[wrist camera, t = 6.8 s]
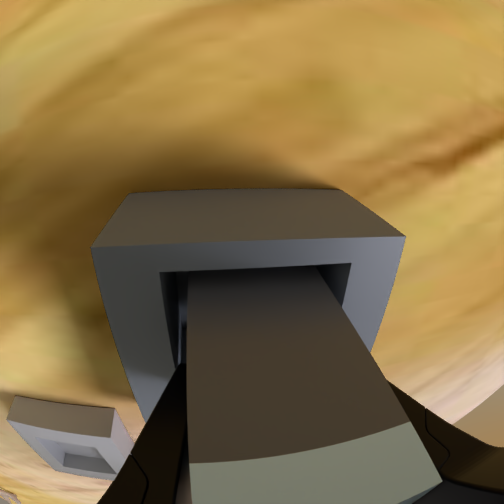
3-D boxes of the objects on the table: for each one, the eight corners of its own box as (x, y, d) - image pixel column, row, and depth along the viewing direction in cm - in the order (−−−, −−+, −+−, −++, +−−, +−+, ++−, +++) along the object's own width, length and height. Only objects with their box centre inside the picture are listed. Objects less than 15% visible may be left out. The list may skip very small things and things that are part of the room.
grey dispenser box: (302, 394, 19) (326, 462, 14) (169, 405, 18) (169, 480, 13) (341, 189, 13) (416, 244, 8) (128, 193, 12) (83, 258, 7)
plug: (296, 346, 12) (366, 530, 5) (197, 354, 11) (215, 560, 4) (310, 259, 10) (442, 480, 3) (188, 265, 10) (196, 545, 3)
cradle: (144, 460, 22) (143, 483, 19) (59, 450, 20) (55, 470, 18) (114, 408, 17) (110, 437, 15) (15, 395, 16) (6, 419, 14)
